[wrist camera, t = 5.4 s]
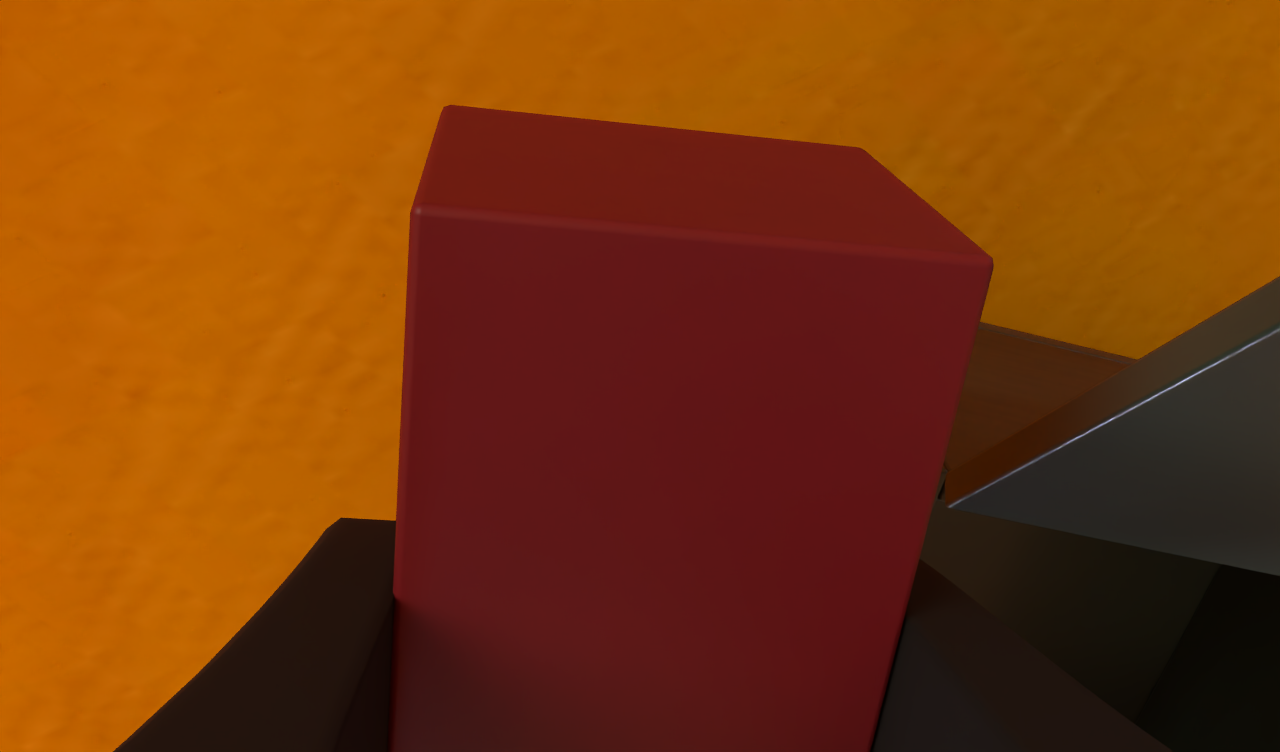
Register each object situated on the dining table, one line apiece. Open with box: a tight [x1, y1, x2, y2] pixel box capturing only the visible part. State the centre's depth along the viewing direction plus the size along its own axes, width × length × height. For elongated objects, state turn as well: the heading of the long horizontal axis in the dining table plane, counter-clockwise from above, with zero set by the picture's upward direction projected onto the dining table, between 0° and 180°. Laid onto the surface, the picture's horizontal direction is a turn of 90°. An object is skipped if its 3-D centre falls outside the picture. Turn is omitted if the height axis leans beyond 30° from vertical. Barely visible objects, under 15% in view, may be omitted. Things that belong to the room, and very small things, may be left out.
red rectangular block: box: [387, 105, 993, 752], centre depth 10 cm, size 8×4×3 cm, turn 173°
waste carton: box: [920, 322, 1280, 752], centre depth 19 cm, size 12×10×6 cm
